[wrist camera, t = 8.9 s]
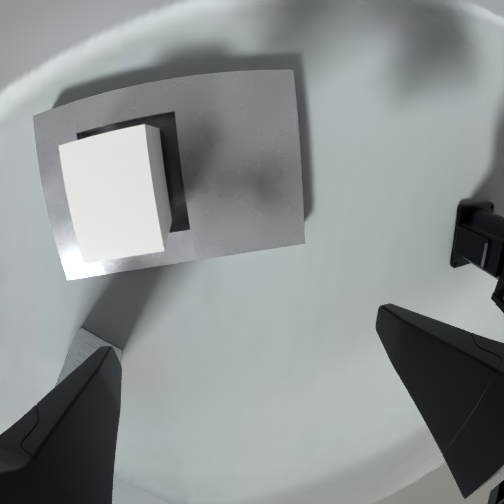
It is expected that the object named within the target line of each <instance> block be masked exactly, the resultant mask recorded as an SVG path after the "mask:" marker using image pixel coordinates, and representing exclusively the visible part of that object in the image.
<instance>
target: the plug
mask: <svg viewBox="0 0 504 504" xmlns="http://www.w3.org/2000/svg"><path fill="white" fill-rule="evenodd" d="M59 153H60V160H61V166H62V173H63V179H64V184H65V190H66V195H67V200H68V204H69V209H70V214H71V218H72V222H73V226H74V230H75V234H76V238H77V242H78V246H79V249H80V253H81V256H82V260H83V263H84V264H88V263H94V262H100V261H106V260H112V259H118V258H124V257H131V256H137V255H143V254H149V253H156V252H162V251H165V247H166V243H167V239H168V235H169V231H170V227H171V224H172V216H171V210H170V204H169V198H168V191H167V184H166V177H165V170H164V163H163V155H162V147H161V139H160V130H159V128H156V127H153V126H149V125H146V124H143V125H138V126H133V127H128V128H123V129H119V130H115V131H110V132H106V133H102V134H98V135H94V136H91V137H87V138H83V139H80V140H76V141H73V142H69V143H66V144H63V145H59Z"/></svg>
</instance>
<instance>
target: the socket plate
mask: <svg viewBox="0 0 504 504" xmlns="http://www.w3.org/2000/svg"><path fill="white" fill-rule="evenodd" d="M33 119H34V131H35V140H36V149H37V156H38V163H39V169H40V175H41V181H42V186H43V192H44V196H45V201H46V206H47V210H48V215H49V219H50V223H51V227H52V231H53V234H54V238H55V242H56V245H57V249H58V252H59V255H60V259H61V262H62V265H63V268H64V271H65V274H66V277H67V280H72V279H79V278H85V277H92V276H98V275H105V274H111V273H117V272H124V271H130V270H137V269H143V268H150V267H156V266H163V265H169V264H176V263H182V262H189V261H195V260H201V259H208V258H214V257H221V256H227V255H234V254H240V253H247V252H253V251H260V250H266V249H273V248H279V247H286V246H292V245H298V244H305V234H304V206H303V185H302V167H301V152H300V138H299V125H298V113H297V101H296V91H295V81H294V71H293V70H247V71H231V72H219V73H208V74H199V75H191V76H184V77H177V78H171V79H165V80H159V81H153V82H148V83H143V84H138V85H134V86H129V87H125V88H120V89H116V90H112V91H108V92H105V93H101V94H97V95H94V96H90V97H87V98H83V99H80V100H77V101H74V102H71V103H68V104H65V105H62V106H59V107H56V108H53V109H50V110H48V111H45V112H42V113H40V114H37V115H35V116H33ZM143 124H146V125H149V126H153V127H156V128H159V130H160V139H161V147H162V155H163V163H164V170H165V177H166V184H167V191H168V198H169V204H170V210H171V216H172V224H171V227H170V231H169V235H168V239H167V243H166V247H165V251H162V252H156V253H149V254H143V255H137V256H131V257H124V258H118V259H112V260H106V261H100V262H94V263H88V264H84V263H83V260H82V256H81V253H80V249H79V246H78V242H77V238H76V234H75V230H74V226H73V222H72V218H71V214H70V209H69V204H68V200H67V195H66V190H65V184H64V179H63V173H62V166H61V160H60V153H59V145H63V144H66V143H69V142H73V141H76V140H80V139H83V138H87V137H91V136H94V135H98V134H102V133H106V132H110V131H115V130H119V129H123V128H128V127H133V126H138V125H143Z"/></svg>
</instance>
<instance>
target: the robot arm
mask: <svg viewBox="0 0 504 504" xmlns="http://www.w3.org/2000/svg"><path fill="white" fill-rule="evenodd" d="M493 211H494V204H493V203H491V202H483V203H473V204H463V205H460V206H459V207H458V212H457V221H456V229H455V237H454V243H453V250H452V256H451V261H450V266H451V267H453V268H456V267H460V266H463V265H466V264H469V263H472V264H473V265H475V266H477V267H478V268H480V269H482V270H483V271H485V272H487V273H488V274H490V275H491V276H493V277H494V278H496V279H498V282H497V285H496V288H495V291H494V293H493V294H492V297H491V299H492V300H493V301H494V302H495V303H496V305H497V306H498V307H499V308H500V309H501V311H502V312H503V313H504V217H502V216H500V215H497V214H495V213H493ZM376 331H377V333H378V335H379V337H380V340H381V342H382V344H383V346H384V348H385V350H386V352H387V355H388V357H389V359H390V361H391V363H392V365H393V367H394V368H395V370H396V372H397V373H398V375H399V377H400V379H401V380H402V382H403V384H404V385H405V387H406V389H407V390H408V392H409V394H410V396H411V397H412V399H413V401H414V403H415V404H416V406H417V408H418V410H419V412H420V413H421V415H422V417H423V419H424V421H425V422H426V424H427V426H428V428H429V430H430V432H431V433H432V435H433V437H434V439H435V441H436V443H437V445H438V447H439V449H440V451H441V452H442V454H443V457H444V459H445V461H446V463H447V465H448V467H449V469H450V470H451V473H452V475H453V477H454V479H455V481H456V483H457V485H458V487H459V489H460V491H461V493H462V495H463V497H464V498H465V499H466V498H467V497H469V496H470V495H471V494H473V493H474V492H475V491H477V490H478V489H479V488H481V487H482V486H483V485H484V484H486V483H487V482H488V481H489V480H491V479H492V478H493V477H494V476H496V475H497V474H498V473H499V474H500V475H501V477H502V478H503V479H504V343H501V342H498V341H494V340H491V339H488V338H485V337H482V336H479V335H476V334H474V333H470V332H468V331H465V330H463V329H460V328H457V327H454V326H451V325H449V324H446V323H443V322H440V321H438V320H435V319H432V318H429V317H427V316H424V315H421V314H418V313H415V312H413V311H410V310H407V309H404V308H402V307H399V306H396V305H393V304H390V303H389V304H385V305H381V306H380V307H379V309H378V314H377V320H376ZM121 379H122V367H121V364H120V361H119V359H118V357H117V354H116V352H115V350H114V348H113V347H112V346H101V347H99V348H98V349H97V350H96V351H95V352H94V353H93V354H92V355H90V356H89V357H88V358H87V359H86V360H85V361H84V362H83V363H81V364H80V365H79V366H78V367H77V368H76V369H75V370H74V371H72V372H71V373H70V374H69V375H68V376H67V377H66V378H65V379H64V380H62V381H61V382H60V383H59V384H58V385H57V386H56V387H55V388H54V389H53V390H51V391H50V392H49V393H48V394H47V395H46V396H45V397H44V398H43V399H42V400H41V401H39V402H38V403H37V405H35V406H34V407H33V408H32V409H31V410H30V411H29V412H27V413H26V414H25V415H24V416H23V417H22V418H21V419H20V420H18V421H17V422H16V423H15V424H14V425H12V426H11V427H10V428H9V429H7V430H6V431H5V432H3V433H2V434H1V435H0V504H112V490H113V474H114V462H115V451H116V441H117V432H118V424H119V417H120V406H121ZM488 504H504V480H503V481H502V482H501V483H500V484H498V485H497V486H496V487H495V488H494V489H493V490H491V492H490V496H489V500H488Z"/></svg>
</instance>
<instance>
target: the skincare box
mask: <svg viewBox="0 0 504 504" xmlns="http://www.w3.org/2000/svg"><path fill="white" fill-rule="evenodd" d="M101 346H112V347H113V348H114V350H115V352H116V354H117V357H118V359H119V361H120V362H121V358H122V354H123V351H122V350H121V349H119V348H117V347H115V346H113V345H111V344H109V343H108V342H106V341H104V340H102V339H100V338H99V337H97V336H95V335H93V334H92V333H90V332H88V331H87V330H85V329H83V328H80V330H79V332H78V334H77V336H76V338H75V340H74V342H73V344H72V346H71V348H70V350H69V353H68V355H67V357H66V360H65V362H64V365H63V367H62V370H61V372H60V375H59V378H58V380H57V383H56V386H57V385H58V384H59V383H60V382H61V381H62V380H64V379H65V378H66V377H67V376H68V375H69V374H70V373H71V372H72V371H74V370H75V369H76V368H77V367H78V366H79V365H80V364H81V363H83V362H84V361H85V360H86V359H87V358H88V357H89V356H90V355H92V354H93V353H94V352H95V351H96V350H97V349H98V348H99V347H101ZM56 386H55V387H56Z"/></svg>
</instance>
